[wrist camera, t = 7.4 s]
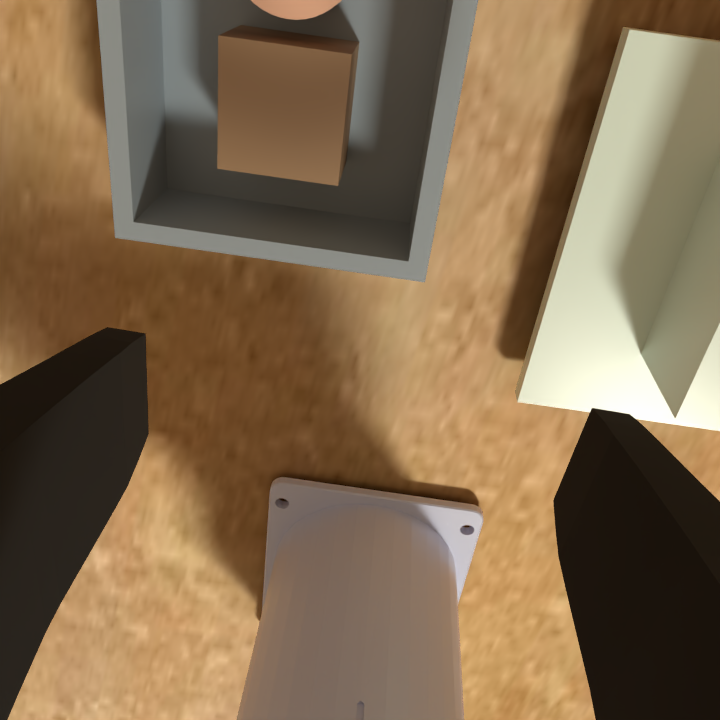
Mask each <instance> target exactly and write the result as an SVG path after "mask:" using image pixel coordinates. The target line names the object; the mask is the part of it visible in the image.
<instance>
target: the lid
mask: <svg viewBox="0 0 720 720" xmlns="http://www.w3.org/2000/svg"><path fill="white" fill-rule="evenodd" d="M515 393H516V397H517V402H522V403H529V404H536V405H543V406H550V407H557V408H564V409H571V410H578V411H585V412H590V411H591V409H592V408H596V409H602V410H608V411H614V412H620V413H626V414H630V415H631V416H633V417H634V418H635V419H640V420H647V421H654V422H661V423H668V424H675V425H682V426H689V427H696V428H703V429H710V430H717V431H720V40H713V39H706V38H699V37H692V36H685V35H678V34H671V33H664V32H657V31H650V30H643V29H636V28H629V27H623V29H622V32H621V36H620V39H619V42H618V46H617V49H616V53H615V56H614V59H613V63H612V66H611V69H610V73H609V76H608V80H607V83H606V86H605V90H604V93H603V96H602V100H601V103H600V107H599V110H598V113H597V117H596V120H595V123H594V127H593V130H592V134H591V137H590V140H589V144H588V147H587V150H586V154H585V157H584V161H583V164H582V167H581V171H580V174H579V177H578V181H577V184H576V188H575V191H574V194H573V198H572V201H571V204H570V208H569V211H568V215H567V218H566V221H565V225H564V228H563V231H562V235H561V238H560V242H559V245H558V248H557V252H556V255H555V258H554V262H553V265H552V268H551V272H550V275H549V279H548V282H547V285H546V289H545V292H544V295H543V299H542V302H541V306H540V309H539V312H538V316H537V319H536V322H535V326H534V329H533V333H532V336H531V339H530V343H529V346H528V349H527V353H526V356H525V360H524V363H523V366H522V370H521V373H520V376H519V380H518V383H517V387H516V390H515Z"/></svg>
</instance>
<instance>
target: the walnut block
mask: <svg viewBox="0 0 720 720" xmlns="http://www.w3.org/2000/svg"><path fill="white" fill-rule="evenodd" d="M358 51H359V42H357V41H350V40H343V39H336V38H329V37H322V36H315V35H308V34H301V33H294V32H287V31H280V30H273V29H266V28H259V27H252V26H245V25H240V26H237V27H235V28H233V29H231V30H229V31H227V32H225V33H222V34H220V35H218V152H217V169H223V170H230V171H237V172H244V173H251V174H258V175H265V176H272V177H279V178H286V179H293V180H300V181H307V182H314V183H321V184H328V185H335V186H338V185H339V182H340V179H341V176H342V173H343V170H344V167H345V164H346V161H347V152H348V143H349V133H350V124H351V115H352V106H353V97H354V88H355V78H356V69H357V60H358Z"/></svg>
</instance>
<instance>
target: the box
mask: <svg viewBox="0 0 720 720" xmlns="http://www.w3.org/2000/svg"><path fill="white" fill-rule="evenodd" d="M96 1H97V14H98V27H99V39H100V52H101V65H102V78H103V90H104V103H105V116H106V129H107V141H108V154H109V167H110V180H111V192H112V205H113V218H114V230H115V238H120V239H127V240H134V241H141V242H148V243H155V244H162V245H168V246H175V247H182V248H189V249H196V250H203V251H210V252H217V253H224V254H231V255H238V256H245V257H252V258H259V259H266V260H273V261H280V262H287V263H294V264H301V265H308V266H315V267H322V268H329V269H336V270H343V271H350V272H357V273H364V274H371V275H378V276H385V277H392V278H399V279H406V280H413V281H420V282H425V279H426V274H427V268H428V263H429V258H430V252H431V247H432V242H433V237H434V231H435V226H436V221H437V215H438V210H439V205H440V200H441V194H442V189H443V184H444V178H445V173H446V168H447V163H448V157H449V152H450V147H451V141H452V136H453V131H454V126H455V120H456V115H457V110H458V104H459V99H460V94H461V89H462V83H463V78H464V73H465V67H466V62H467V57H468V52H469V46H470V41H471V36H472V30H473V25H474V20H475V15H476V9H477V4H478V0H342V1H341V2H339V3H338V4H337V5H335V6H334V7H333V8H331V9H330V10H328V11H327V12H325V13H323V14H321V15H318V16H316V17H313V18H308V19H300V20H293V19H285V18H281V17H277V16H275V15H272V14H270V13H268V12H266V11H264V10H262V9H261V8H259V7H258V6H257V5H255V4H254V3H253V2H252V1H251V0H96ZM240 25H245V26H252V27H259V28H266V29H273V30H280V31H287V32H294V33H301V34H308V35H315V36H322V37H329V38H336V39H343V40H350V41H357V42H359V51H358V60H357V69H356V78H355V88H354V97H353V106H352V115H351V124H350V133H349V143H348V152H347V161H346V164H345V167H344V170H343V173H342V176H341V179H340V182H339V185H338V186H335V185H328V184H321V183H314V182H307V181H300V180H293V179H286V178H279V177H272V176H265V175H258V174H251V173H244V172H237V171H230V170H223V169H217V152H218V35H220V34H222V33H225V32H227V31H229V30H231V29H233V28H235V27H237V26H240Z"/></svg>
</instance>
